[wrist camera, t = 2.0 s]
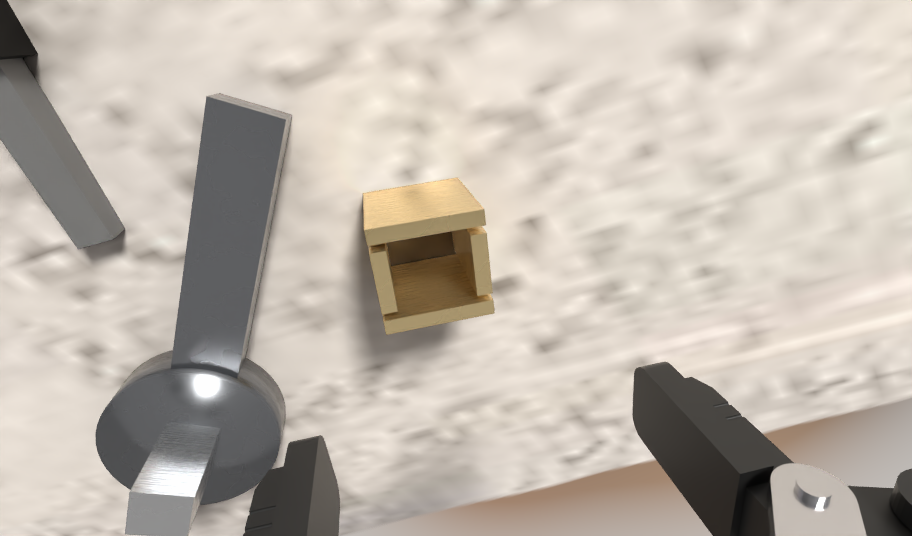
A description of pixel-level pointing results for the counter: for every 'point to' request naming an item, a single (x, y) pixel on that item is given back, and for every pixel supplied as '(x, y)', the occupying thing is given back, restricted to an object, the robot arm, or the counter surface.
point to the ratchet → (207, 342)
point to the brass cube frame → (433, 280)
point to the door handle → (48, 144)
